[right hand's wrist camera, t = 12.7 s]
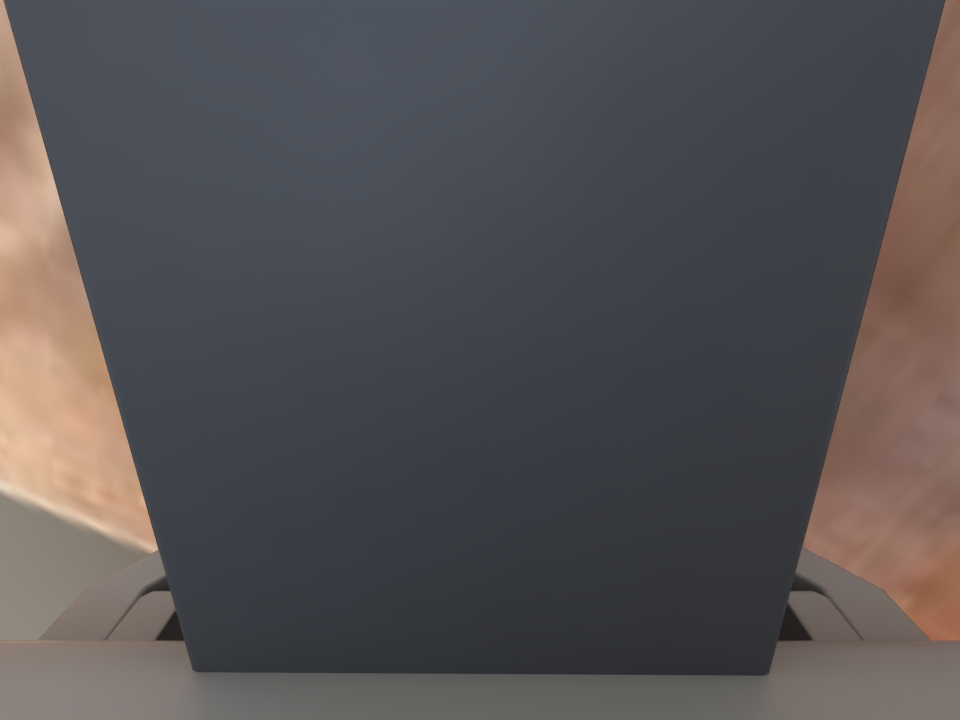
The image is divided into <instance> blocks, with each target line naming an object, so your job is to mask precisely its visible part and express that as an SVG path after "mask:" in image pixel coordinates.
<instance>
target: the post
mask: <svg viewBox="0 0 960 720" xmlns="http://www.w3.org/2000/svg"><path fill="white" fill-rule="evenodd" d="M4 3H5V7H6V10H7V14H8V17H9V21H10V24H11V28H12V32H13V35H14V39H15V42H16V46H17V49H18V53H19V56H20V60H21V63H22V67H23V71H24V74H25V78H26V81H27V85H28V88H29V92H30V95H31V99H32V102H33V106H34V110H35V113H36V117H37V120H38V124H39V127H40V131H41V134H42V138H43V141H44V145H45V149H46V152H47V156H48V159H49V163H50V166H51V170H52V173H53V177H54V180H55V184H56V187H57V191H58V195H59V198H60V202H61V205H62V209H63V212H64V216H65V219H66V223H67V226H68V230H69V234H70V237H71V241H72V244H73V248H74V251H75V255H76V258H77V262H78V265H79V269H80V273H81V276H82V280H83V283H84V287H85V290H86V294H87V297H88V301H89V304H90V308H91V312H92V315H93V319H94V322H95V326H96V329H97V333H98V336H99V340H100V343H101V347H102V351H103V354H104V358H105V361H106V365H107V368H108V372H109V375H110V379H111V382H112V386H113V390H114V393H115V397H116V400H117V404H118V407H119V411H120V414H121V418H122V421H123V425H124V429H125V432H126V436H127V439H128V443H129V446H130V450H131V453H132V457H133V460H134V464H135V468H136V471H137V475H138V478H139V482H140V485H141V489H142V492H143V496H144V499H145V503H146V507H147V510H148V514H149V517H150V521H151V524H152V528H153V531H154V535H155V538H156V542H157V546H158V549H159V553H160V556H161V560H162V563H163V567H164V570H165V574H166V577H167V581H168V584H169V588H170V592H171V595H172V599H173V602H174V606H175V609H176V613H177V616H178V620H179V623H180V627H181V631H182V634H183V638H184V641H185V645H186V648H187V652H188V655H189V659H190V662H191V666H192V670H193V671H196V672H233V673H401V674H568V675H736V676H764V675H767V674H769V672H770V668H771V664H772V660H773V656H774V653H775V649H776V645H777V641H778V637H779V633H780V630H781V626H782V622H783V618H784V614H785V610H786V607H787V603H788V599H789V595H790V591H791V588H792V584H793V580H794V576H795V572H796V568H797V565H798V561H799V557H800V553H801V549H802V546H803V542H804V538H805V534H806V530H807V526H808V523H809V519H810V515H811V511H812V507H813V504H814V500H815V496H816V492H817V488H818V484H819V481H820V477H821V473H822V469H823V465H824V462H825V458H826V454H827V450H828V446H829V442H830V439H831V435H832V431H833V427H834V423H835V420H836V416H837V412H838V408H839V404H840V400H841V397H842V393H843V389H844V385H845V381H846V378H847V374H848V370H849V366H850V362H851V358H852V355H853V351H854V347H855V343H856V339H857V336H858V332H859V328H860V324H861V320H862V316H863V313H864V309H865V305H866V301H867V297H868V293H869V290H870V286H871V282H872V278H873V274H874V271H875V267H876V263H877V259H878V255H879V251H880V248H881V244H882V240H883V236H884V232H885V229H886V225H887V221H888V217H889V213H890V209H891V206H892V202H893V198H894V194H895V190H896V187H897V183H898V179H899V175H900V171H901V167H902V164H903V160H904V156H905V152H906V148H907V145H908V141H909V137H910V133H911V129H912V125H913V122H914V118H915V114H916V110H917V106H918V103H919V99H920V95H921V91H922V87H923V83H924V80H925V76H926V72H927V68H928V64H929V61H930V57H931V53H932V49H933V45H934V41H935V38H936V34H937V30H938V26H939V22H940V19H941V15H942V11H943V7H944V3H945V0H4Z"/></svg>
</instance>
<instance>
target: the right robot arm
mask: <svg viewBox="0 0 960 720" xmlns="http://www.w3.org/2000/svg"><path fill="white" fill-rule="evenodd" d="M0 720H960V641H931V640H930V639H929V638H928V637H927V636H926V635H925V634H924V633H923V632H922V631H921V630H920V629H919V627H918V626H917V625H916V624H915V623H914V622H913V621H912V620H911V619H910V618H909V617H908V616H907V615H906V614H905V613H904V612H903V611H902V610H901V608H900V607H899V606H898V605H897V604H896V603H895V602H894V601H893V600H892V599H891V598H890V597H889V596H888V595H887V594H886V593H885V592H884V590H883V589H881V588H879V587H877V586H875V585H873V584H871V583H869V582H867V581H866V580H864V579H862V578H860V577H858V576H856V575H854V574H852V573H850V572H849V571H847V570H845V569H843V568H841V567H839V566H837V565H835V564H833V563H832V562H830V561H828V560H826V559H824V558H822V557H820V556H818V555H816V554H815V553H813V552H811V551H809V550H807V549H805V548H803V547H802V549H801V553H800V557H799V561H798V565H797V568H796V572H795V576H794V580H793V584H792V588H791V591H790V595H789V599H788V603H787V607H786V610H785V614H784V618H783V622H782V626H781V630H780V633H779V637H778V641H777V645H776V649H775V653H774V656H773V660H772V664H771V668H770V672H769V674H767V675H764V676H736V675H568V674H401V673H233V672H196V671H193V670H192V666H191V662H190V659H189V655H188V652H187V648H186V645H185V641H184V638H183V634H182V631H181V627H180V623H179V620H178V616H177V613H176V609H175V606H174V602H173V599H172V595H171V592H170V588H169V584H168V581H167V577H166V574H165V570H164V567H163V563H162V560H161V556H160V553H159V550H157V551H156V552H154V553H152V554H150V555H148V556H146V557H144V558H142V559H141V560H139V561H137V562H135V563H133V564H131V565H129V566H127V567H125V568H124V569H122V570H120V571H118V572H116V573H114V574H112V575H110V576H109V577H107V578H105V579H103V580H101V581H99V582H97V583H95V584H93V585H92V586H90V587H88V588H86V589H85V590H84V591H83V592H82V593H81V594H80V595H79V596H78V597H77V599H76V600H75V601H74V602H73V603H72V604H71V605H70V606H69V607H68V608H67V609H66V610H65V611H64V612H63V614H62V615H61V616H60V617H59V618H58V619H57V620H56V621H55V622H54V623H53V624H52V625H51V626H50V627H49V628H48V630H47V631H46V632H45V633H44V634H43V635H42V636H41V637H40V638H39V639H38V640H37V641H0Z"/></svg>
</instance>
